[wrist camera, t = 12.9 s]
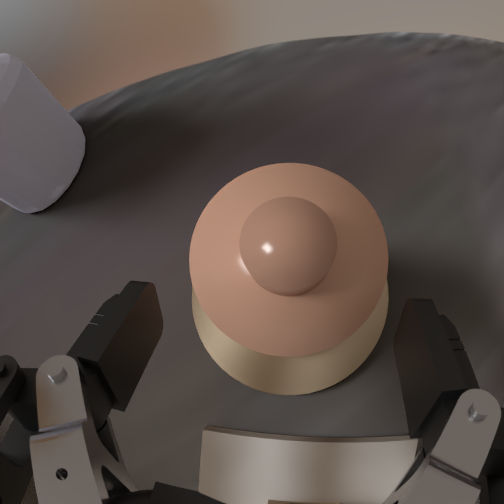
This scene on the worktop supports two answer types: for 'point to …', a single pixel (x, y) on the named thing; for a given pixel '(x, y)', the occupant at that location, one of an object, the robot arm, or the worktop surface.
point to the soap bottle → (34, 140)
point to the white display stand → (301, 467)
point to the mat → (291, 368)
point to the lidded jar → (288, 259)
